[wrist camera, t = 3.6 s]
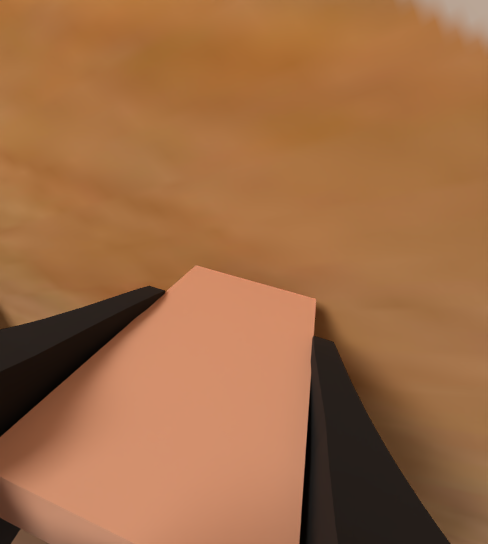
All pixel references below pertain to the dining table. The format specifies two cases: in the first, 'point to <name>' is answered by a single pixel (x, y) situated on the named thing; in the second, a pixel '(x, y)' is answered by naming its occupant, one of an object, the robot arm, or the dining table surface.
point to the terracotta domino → (174, 426)
